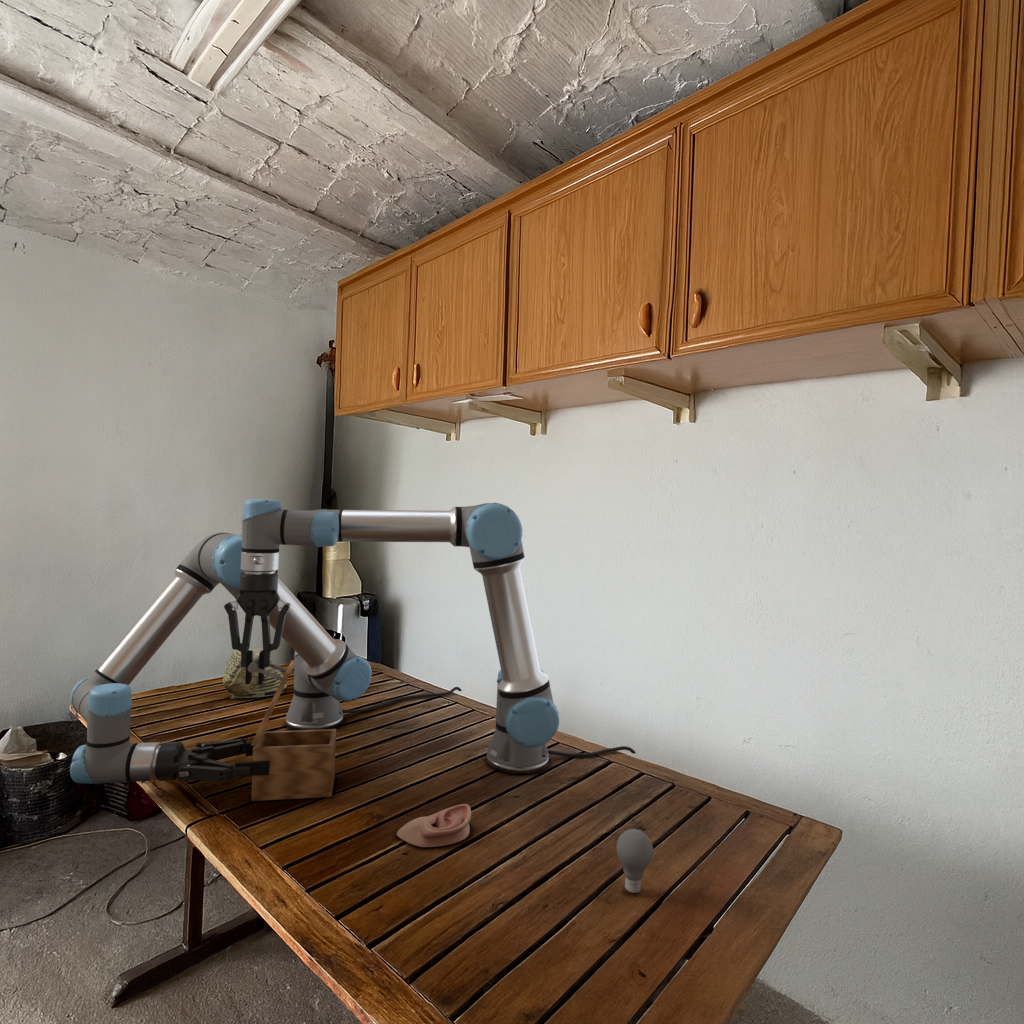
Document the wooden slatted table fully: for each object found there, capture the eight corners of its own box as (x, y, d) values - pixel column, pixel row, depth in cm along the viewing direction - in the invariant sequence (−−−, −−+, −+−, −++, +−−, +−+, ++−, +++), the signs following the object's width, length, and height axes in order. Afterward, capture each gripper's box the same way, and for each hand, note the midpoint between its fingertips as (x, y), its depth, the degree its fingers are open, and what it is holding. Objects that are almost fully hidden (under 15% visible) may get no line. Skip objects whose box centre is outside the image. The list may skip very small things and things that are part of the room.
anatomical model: (391, 821, 117) (413, 793, 128) (390, 842, 117) (412, 813, 128) (460, 832, 114) (476, 802, 125) (459, 853, 114) (475, 822, 126)
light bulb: (610, 879, 108) (613, 822, 108) (644, 879, 109) (647, 822, 109) (619, 902, 102) (622, 840, 102) (655, 901, 103) (658, 840, 103)
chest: (334, 776, 143) (336, 728, 143) (331, 796, 134) (333, 745, 134) (260, 780, 140) (261, 731, 140) (251, 801, 131) (252, 748, 130)
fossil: (218, 695, 195) (220, 647, 195) (278, 685, 208) (279, 640, 207) (228, 703, 189) (230, 653, 188) (289, 692, 201) (290, 645, 201)
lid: (296, 661, 141) (260, 647, 139) (289, 673, 131) (251, 658, 130) (263, 729, 140) (227, 716, 138) (255, 746, 130) (215, 732, 129)
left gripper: (175, 757, 142) (280, 754, 147) (138, 805, 120) (262, 799, 125) (177, 724, 142) (281, 722, 147) (140, 766, 120) (264, 761, 125)
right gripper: (217, 573, 129) (212, 687, 129) (293, 574, 132) (289, 687, 132) (226, 568, 136) (221, 677, 137) (298, 570, 139) (293, 676, 140)
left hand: (273, 757), depth 136 cm, fingers closed on chest, 10 cm apart
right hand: (254, 682), depth 135 cm, fingers closed on lid, 2 cm apart
